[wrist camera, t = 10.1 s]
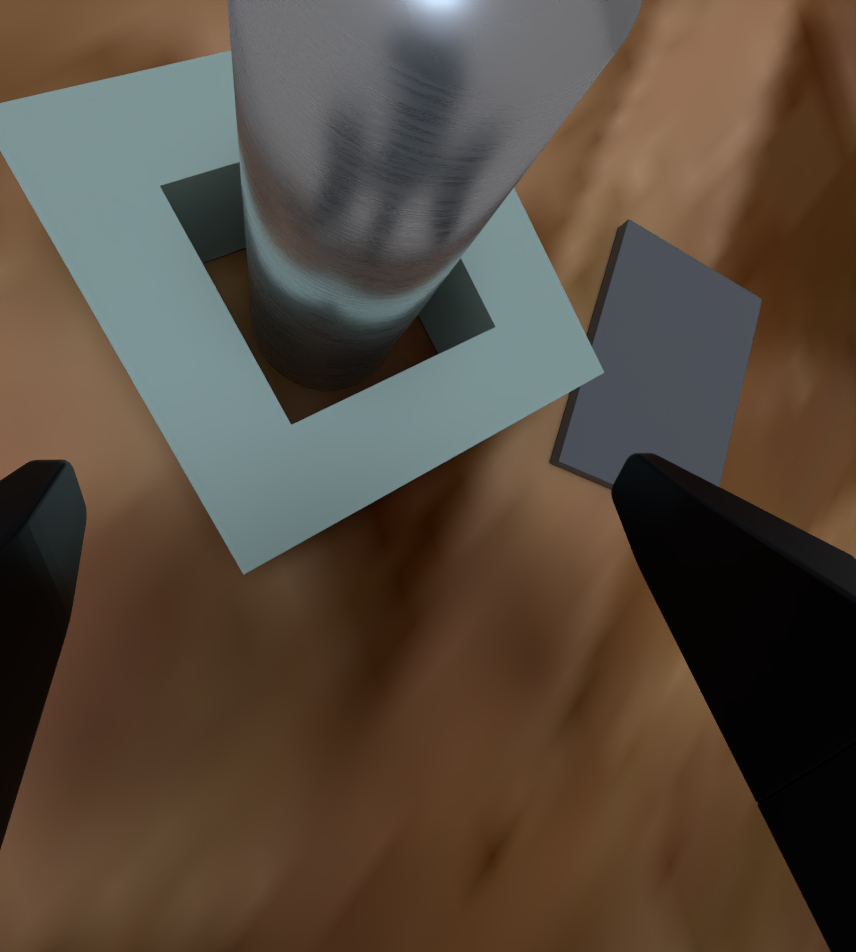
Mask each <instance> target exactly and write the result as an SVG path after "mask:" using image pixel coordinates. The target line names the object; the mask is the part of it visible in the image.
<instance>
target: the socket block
mask: <svg viewBox="0 0 856 952" xmlns="http://www.w3.org/2000/svg"><path fill="white" fill-rule="evenodd" d="M0 151H1V153H2V154H3V156H4V158H5V160H6V161H7V163H8V165H9V167H10V168H11V170H12V172H13V174H14V175H15V177H16V179H17V181H18V182H19V184H20V186H21V188H22V189H23V191H24V193H25V195H26V196H27V198H28V200H29V202H30V203H31V205H32V207H33V209H34V210H35V212H36V214H37V215H38V217H39V219H40V221H41V222H42V224H43V226H44V228H45V229H46V231H47V233H48V235H49V236H50V238H51V240H52V242H53V243H54V245H55V247H56V249H57V250H58V252H59V254H60V256H61V257H62V259H63V261H64V263H65V264H66V266H67V268H68V270H69V271H70V273H71V275H72V277H73V278H74V280H75V282H76V284H77V285H78V287H79V289H80V290H81V292H82V294H83V296H84V297H85V299H86V301H87V303H88V304H89V306H90V308H91V310H92V311H93V313H94V315H95V317H96V318H97V320H98V322H99V324H100V325H101V327H102V329H103V331H104V332H105V334H106V336H107V338H108V339H109V341H110V343H111V345H112V346H113V348H114V350H115V352H116V353H117V355H118V357H119V358H120V360H121V362H122V364H123V365H124V367H125V369H126V371H127V372H128V374H129V376H130V378H131V379H132V381H133V383H134V385H135V386H136V388H137V390H138V392H139V393H140V395H141V397H142V399H143V400H144V402H145V404H146V406H147V407H148V409H149V411H150V413H151V414H152V416H153V418H154V420H155V421H156V423H157V425H158V426H159V428H160V430H161V432H162V433H163V435H164V437H165V439H166V440H167V442H168V444H169V446H170V447H171V449H172V451H173V453H174V454H175V456H176V458H177V460H178V461H179V463H180V465H181V467H182V468H183V470H184V472H185V474H186V475H187V477H188V479H189V481H190V482H191V484H192V486H193V488H194V489H195V491H196V493H197V494H198V496H199V498H200V500H201V501H202V503H203V505H204V507H205V508H206V510H207V512H208V514H209V515H210V517H211V519H212V521H213V522H214V524H215V526H216V528H217V529H218V531H219V533H220V535H221V536H222V538H223V540H224V542H225V543H226V545H227V547H228V549H229V550H230V552H231V554H232V556H233V557H234V559H235V561H236V562H237V564H238V566H239V568H240V569H241V571H242V573H243V575H244V574H246V573H247V572H249V571H251V570H253V569H255V568H256V567H258V566H260V565H262V564H263V563H265V562H267V561H269V560H271V559H272V558H274V557H276V556H278V555H280V554H281V553H283V552H285V551H287V550H288V549H290V548H292V547H294V546H296V545H297V544H299V543H301V542H303V541H305V540H306V539H308V538H310V537H312V536H313V535H315V534H317V533H319V532H321V531H322V530H324V529H326V528H328V527H330V526H331V525H333V524H335V523H337V522H338V521H340V520H342V519H344V518H346V517H347V516H349V515H351V514H353V513H355V512H356V511H358V510H360V509H362V508H363V507H365V506H367V505H369V504H371V503H372V502H374V501H376V500H378V499H380V498H381V497H383V496H385V495H387V494H388V493H390V492H392V491H394V490H396V489H397V488H399V487H401V486H403V485H405V484H406V483H408V482H410V481H412V480H414V479H415V478H417V477H419V476H421V475H422V474H424V473H426V472H428V471H430V470H431V469H433V468H435V467H437V466H439V465H440V464H442V463H444V462H446V461H447V460H449V459H451V458H453V457H455V456H456V455H458V454H460V453H462V452H464V451H465V450H467V449H469V448H471V447H472V446H474V445H476V444H478V443H480V442H481V441H483V440H485V439H487V438H489V437H490V436H492V435H494V434H496V433H497V432H499V431H501V430H503V429H505V428H506V427H508V426H510V425H512V424H514V423H515V422H517V421H519V420H521V419H522V418H524V417H526V416H528V415H530V414H531V413H533V412H535V411H537V410H539V409H540V408H542V407H544V406H546V405H547V404H549V403H551V402H553V401H555V400H556V399H558V398H560V397H562V396H564V395H565V394H567V393H569V392H571V391H572V390H574V389H576V388H578V387H580V386H581V385H583V384H585V383H587V382H589V381H590V380H592V379H594V378H596V377H597V376H599V375H601V374H603V373H604V371H603V369H602V367H601V365H600V363H599V360H598V358H597V356H596V354H595V352H594V350H593V348H592V346H591V344H590V342H589V340H588V338H587V336H586V334H585V332H584V330H583V328H582V326H581V324H580V322H579V320H578V318H577V316H576V314H575V311H574V309H573V307H572V305H571V303H570V301H569V299H568V297H567V295H566V293H565V291H564V289H563V287H562V285H561V283H560V281H559V279H558V277H557V275H556V273H555V271H554V269H553V267H552V265H551V262H550V260H549V258H548V256H547V254H546V252H545V250H544V248H543V246H542V244H541V242H540V240H539V238H538V236H537V234H536V232H535V230H534V228H533V226H532V224H531V222H530V220H529V218H528V216H527V213H526V211H525V209H524V207H523V205H522V203H521V201H520V199H519V197H518V195H517V193H516V191H515V189H514V188H513V189H512V191H511V192H510V193H509V195H508V196H507V197H506V199H505V200H504V201H503V203H502V204H501V205H500V207H499V208H498V209H497V211H496V212H495V213H494V215H493V216H492V217H491V218H490V220H489V221H488V222H487V224H486V225H485V226H484V228H483V229H482V230H481V232H480V233H479V234H478V236H477V237H476V238H475V240H474V241H473V242H472V244H471V245H470V246H469V248H468V249H467V250H466V252H465V253H464V254H463V256H462V257H461V258H460V260H459V261H458V262H457V264H456V265H455V266H454V267H453V269H452V270H451V271H450V273H449V274H448V275H447V277H446V278H445V279H444V281H443V282H442V283H441V285H440V286H439V287H438V289H437V290H436V291H435V293H434V294H433V295H432V297H431V298H430V299H429V301H428V302H427V303H426V305H425V306H424V307H423V309H422V310H421V311H420V313H419V314H418V316H419V318H420V320H421V321H422V323H423V325H424V327H425V329H426V331H427V333H428V335H429V337H430V339H431V341H432V343H433V345H434V347H435V349H436V350H437V352H438V355H436V356H434V357H432V358H430V359H428V360H426V361H423V362H421V363H419V364H417V365H415V366H413V367H411V368H409V369H407V370H405V371H403V372H401V373H398V374H396V375H394V376H392V377H390V378H388V379H386V380H384V381H382V382H380V383H378V384H376V385H373V386H371V387H369V388H367V389H365V390H363V391H361V392H359V393H357V394H355V395H353V396H351V397H348V398H346V399H344V400H342V401H340V402H338V403H336V404H334V405H332V406H330V407H328V408H326V409H324V410H321V411H319V412H317V413H315V414H313V415H311V416H309V417H307V418H305V419H303V420H301V421H299V422H296V423H294V424H292V425H291V424H290V422H289V420H288V418H287V416H286V415H285V413H284V411H283V409H282V407H281V405H280V404H279V402H278V400H277V398H276V396H275V395H274V393H273V391H272V389H271V387H270V385H269V384H268V382H267V380H266V378H265V376H264V375H263V373H262V371H261V369H260V367H259V365H258V364H257V362H256V360H255V358H254V356H253V354H252V353H251V351H250V349H249V347H248V345H247V344H246V342H245V340H244V338H243V336H242V334H241V333H240V331H239V329H238V327H237V325H236V324H235V322H234V320H233V318H232V316H231V314H230V313H229V311H228V309H227V307H226V305H225V304H224V302H223V300H222V298H221V296H220V294H219V293H218V291H217V289H216V287H215V285H214V284H213V282H212V280H211V278H210V276H209V274H208V273H207V271H206V269H205V267H204V265H203V264H202V263H204V262H207V261H209V260H212V259H215V258H218V257H221V256H224V255H226V254H229V253H232V252H235V251H238V250H240V249H243V248H246V239H245V226H244V213H243V199H242V186H241V173H240V160H239V147H238V133H237V120H236V107H235V94H234V80H233V67H232V54H231V51H226V52H222V53H218V54H213V55H209V56H205V57H200V58H196V59H192V60H187V61H183V62H178V63H174V64H170V65H165V66H161V67H157V68H152V69H148V70H143V71H139V72H135V73H130V74H126V75H122V76H117V77H113V78H108V79H104V80H100V81H95V82H91V83H87V84H82V85H78V86H74V87H69V88H65V89H60V90H56V91H52V92H47V93H43V94H39V95H34V96H30V97H25V98H21V99H17V100H12V101H8V102H4V103H0Z"/></svg>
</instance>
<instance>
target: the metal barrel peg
mask: <svg viewBox="0 0 856 952" xmlns="http://www.w3.org/2000/svg"><path fill="white" fill-rule="evenodd" d="M227 1H228V14H229V28H230V41H231V54H232V67H233V80H234V94H235V107H236V120H237V133H238V147H239V160H240V173H241V186H242V199H243V213H244V226H245V239H246V252H247V266H248V279H249V292H250V305H251V318H252V327H253V332H254V335H255V339H256V341H257V344H258V346H259V348H260V350H261V351H262V353H263V355H264V356H265V358H266V359H267V360H268V361H269V363H270V364H271V365H272V366H273V367H274V368H275V369H276V370H277V371H278V372H279V373H281V374H282V375H283V376H285V377H286V378H288V379H290V380H291V381H293V382H295V383H297V384H300V385H302V386H305V387H308V388H312V389H318V390H339V389H344V388H348V387H351V386H353V385H356V384H358V383H360V382H362V381H364V380H365V379H366V378H368V377H369V376H370V375H371V374H372V373H373V372H374V371H375V370H376V369H377V368H378V367H379V366H380V364H381V363H382V362H383V360H384V359H385V358H386V356H387V355H388V354H389V352H390V351H391V350H392V348H393V347H394V346H395V344H396V343H397V342H398V340H399V339H400V338H401V336H402V335H403V334H404V332H405V331H406V330H407V328H408V327H409V326H410V324H411V323H412V322H413V320H414V319H415V318H416V317H417V315H418V314H419V313H420V311H421V310H422V309H423V307H424V306H425V305H426V303H427V302H428V301H429V299H430V298H431V297H432V295H433V294H434V293H435V291H436V290H437V289H438V287H439V286H440V285H441V283H442V282H443V281H444V279H445V278H446V277H447V275H448V274H449V273H450V271H451V270H452V269H453V267H454V266H455V265H456V264H457V262H458V261H459V260H460V258H461V257H462V256H463V254H464V253H465V252H466V250H467V249H468V248H469V246H470V245H471V244H472V242H473V241H474V240H475V238H476V237H477V236H478V234H479V233H480V232H481V230H482V229H483V228H484V226H485V225H486V224H487V222H488V221H489V220H490V218H491V217H492V216H493V215H494V213H495V212H496V211H497V209H498V208H499V207H500V205H501V204H502V203H503V201H504V200H505V199H506V197H507V196H508V195H509V193H510V192H511V191H512V189H513V188H514V187H515V185H516V184H517V183H518V181H519V180H520V179H521V177H522V176H523V175H524V173H525V172H526V171H527V169H528V168H529V167H530V165H531V164H532V163H533V162H534V160H535V159H536V158H537V156H538V155H539V154H540V152H541V151H542V150H543V148H544V147H545V146H546V144H547V143H548V142H549V140H550V139H551V138H552V136H553V135H554V134H555V132H556V131H557V130H558V128H559V127H560V126H561V124H562V123H563V122H564V120H565V119H566V118H567V116H568V115H569V114H570V112H571V111H572V110H573V109H574V107H575V106H576V105H577V103H578V102H579V101H580V99H581V98H582V97H583V95H584V94H585V93H586V91H587V90H588V89H589V87H590V86H591V85H592V83H593V82H594V81H595V79H596V78H597V77H598V75H599V74H600V73H601V71H602V70H603V69H604V67H605V66H606V65H607V63H608V62H609V61H610V60H611V58H612V57H613V56H614V54H615V53H616V52H617V50H618V49H619V48H620V46H621V45H622V44H623V42H624V41H625V40H626V38H627V36H628V34H629V33H630V31H631V29H632V27H633V25H634V23H635V21H636V19H637V16H638V13H639V10H640V7H641V4H642V1H643V0H227Z"/></svg>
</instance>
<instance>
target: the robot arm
mask: <svg viewBox="0 0 856 952" xmlns="http://www.w3.org/2000/svg"><path fill="white" fill-rule="evenodd" d="M611 494H612V499H613V502H614V505H615V507H616V510H617V513H618V515H619V518H620V520H621V523H622V526H623V528H624V531H625V533H626V536H627V539H628V541H629V544H630V546H631V549H632V552H633V554H634V557H635V559H636V562H637V564H638V566H639V569H640V571H641V573H642V575H643V577H644V579H645V581H646V583H647V585H648V587H649V589H650V591H651V593H652V595H653V597H654V599H655V601H656V603H657V605H658V607H659V609H660V611H661V613H662V615H663V617H664V619H665V621H666V623H667V625H668V627H669V629H670V631H671V633H672V635H673V637H674V639H675V641H676V643H677V645H678V647H679V649H680V651H681V653H682V655H683V657H684V659H685V661H686V663H687V665H688V667H689V669H690V671H691V673H692V675H693V677H694V679H695V681H696V683H697V685H698V687H699V689H700V691H701V693H702V695H703V697H704V699H705V701H706V703H707V705H708V707H709V709H710V711H711V713H712V715H713V717H714V719H715V721H716V723H717V725H718V727H719V729H720V731H721V733H722V735H723V737H724V739H725V741H726V743H727V745H728V747H729V749H730V751H731V753H732V755H733V757H734V759H735V761H736V763H737V764H738V766H739V768H740V770H741V772H742V774H743V776H744V778H745V780H746V782H747V784H748V786H749V788H750V790H751V792H752V794H753V796H754V798H755V800H756V802H758V807H759V809H760V811H761V813H762V815H763V817H764V819H765V821H766V823H767V825H768V827H769V829H770V831H771V833H772V835H773V837H774V839H775V841H776V843H777V845H778V847H779V849H780V851H781V853H782V855H783V857H784V859H785V861H786V863H787V865H788V867H789V869H790V871H791V873H792V875H793V877H794V879H795V881H796V883H797V885H798V887H799V889H800V891H801V893H802V895H803V897H804V899H805V901H806V903H807V905H808V907H809V909H810V911H811V913H812V915H813V917H814V919H815V921H816V923H817V925H818V927H819V929H820V931H821V933H822V935H823V937H824V939H825V941H826V943H827V945H828V947H829V949H830V951H831V952H856V559H855V558H854V557H853V556H851V555H850V554H848V553H846V552H844V551H842V550H840V549H838V548H836V547H834V546H832V545H830V544H828V543H826V542H824V541H822V540H821V539H819V538H817V537H815V536H813V535H811V534H809V533H807V532H805V531H803V530H801V529H799V528H797V527H795V526H793V525H792V524H790V523H788V522H786V521H784V520H782V519H780V518H778V517H776V516H774V515H772V514H770V513H768V512H766V511H764V510H763V509H761V508H759V507H757V506H755V505H753V504H751V503H749V502H747V501H745V500H743V499H741V498H739V497H737V496H735V495H734V494H732V493H730V492H728V491H726V490H724V489H722V488H720V487H718V486H716V485H714V484H712V483H710V482H708V481H706V480H705V479H703V478H701V477H699V476H697V475H695V474H693V473H691V472H689V471H687V470H685V469H683V468H681V467H679V466H677V465H676V464H674V463H672V462H670V461H668V460H666V459H664V458H662V457H660V456H658V455H656V454H653V453H634V454H631V455H630V456H629V457H628V458H627V460H626V461H625V463H624V465H623V467H622V469H621V471H620V473H619V474H618V476H617V478H616V480H615V482H614V484H613V486H612V492H611ZM85 526H86V506H85V502H84V499H83V496H82V493H81V490H80V487H79V484H78V481H77V478H76V474H75V471H74V469H73V467H72V465H71V464H70V463H69V462H68V461H66V460H33V461H30V462H28V463H26V464H25V465H23V466H22V467H20V468H19V469H17V470H16V471H14V472H12V473H11V474H9V475H8V476H6V477H5V478H3V479H2V480H0V849H1V846H2V843H3V840H4V836H5V833H6V830H7V826H8V823H9V820H10V817H11V813H12V810H13V807H14V803H15V800H16V797H17V794H18V790H19V787H20V784H21V781H22V777H23V774H24V771H25V767H26V764H27V761H28V758H29V754H30V751H31V748H32V744H33V741H34V738H35V735H36V731H37V728H38V725H39V721H40V718H41V715H42V712H43V708H44V705H45V702H46V699H47V695H48V692H49V689H50V685H51V682H52V679H53V676H54V672H55V669H56V666H57V662H58V659H59V656H60V653H61V649H62V646H63V643H64V639H65V636H66V632H67V629H68V625H69V621H70V617H71V612H72V606H73V601H74V594H75V588H76V582H77V576H78V569H79V563H80V557H81V551H82V544H83V538H84V532H85Z"/></svg>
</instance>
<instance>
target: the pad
mask: <svg viewBox="0 0 856 952" xmlns="http://www.w3.org/2000/svg"><path fill="white" fill-rule="evenodd" d="M761 302H762V299H761V298H759V297H757V296H756V295H754V294H752V293H751V292H749V291H747V290H746V289H744V288H742V287H741V286H739V285H737V284H736V283H734V282H732V281H731V280H729V279H727V278H726V277H724V276H722V275H721V274H719V273H717V272H716V271H714V270H712V269H711V268H709V267H707V266H706V265H704V264H702V263H701V262H699V261H697V260H696V259H694V258H692V257H691V256H689V255H687V254H686V253H684V252H683V251H681V250H679V249H678V248H676V247H674V246H673V245H671V244H669V243H668V242H666V241H664V240H663V239H661V238H659V237H658V236H656V235H654V234H653V233H651V232H649V231H648V230H646V229H644V228H643V227H641V226H639V225H638V224H636V223H634V222H633V221H631V220H627V221H626V222H625V223H624V224H622V225H621V226H620V227H619V228H618V231H617V235H616V238H615V242H614V245H613V249H612V252H611V255H610V259H609V262H608V266H607V269H606V272H605V276H604V279H603V283H602V286H601V290H600V293H599V296H598V300H597V303H596V307H595V310H594V313H593V317H592V320H591V324H590V327H589V331H588V334H587V338H588V340H589V342H590V344H591V346H592V348H593V350H594V352H595V354H596V356H597V358H598V360H599V363H600V365H601V367H602V369H603V371H604V373H603V374H601V375H599V376H597V377H596V378H594V379H592V380H590V381H589V382H587V383H585V384H583V385H581V386H580V387H578V388H576V389H574V390H572V391H571V392H570V396H569V399H568V402H567V406H566V409H565V413H564V416H563V420H562V423H561V426H560V430H559V433H558V437H557V440H556V443H555V447H554V450H553V454H552V457H551V461H550V463H551V464H554V465H556V466H558V467H561V468H563V469H565V470H568V471H570V472H572V473H575V474H577V475H580V476H582V477H584V478H587V479H589V480H591V481H594V482H596V483H598V484H601V485H603V486H605V487H608V488H610V489H612V486H613V484H614V482H615V480H616V478H617V476H618V474H619V473H620V471H621V469H622V467H623V465H624V463H625V461H626V460H627V458H628V457H629V456H630V455H631V454H634V453H653V454H656V455H658V456H660V457H662V458H664V459H666V460H668V461H670V462H672V463H674V464H676V465H677V466H679V467H681V468H683V469H685V470H687V471H689V472H691V473H693V474H695V475H697V476H699V477H701V478H703V479H705V480H706V481H708V482H710V483H712V484H714V485H716V486H718V487H719V485H720V481H721V476H722V472H723V468H724V463H725V459H726V455H727V450H728V446H729V442H730V437H731V433H732V428H733V424H734V420H735V415H736V411H737V407H738V402H739V398H740V393H741V389H742V385H743V380H744V376H745V372H746V367H747V363H748V359H749V354H750V350H751V345H752V341H753V337H754V332H755V328H756V324H757V319H758V315H759V310H760V306H761Z"/></svg>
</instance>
